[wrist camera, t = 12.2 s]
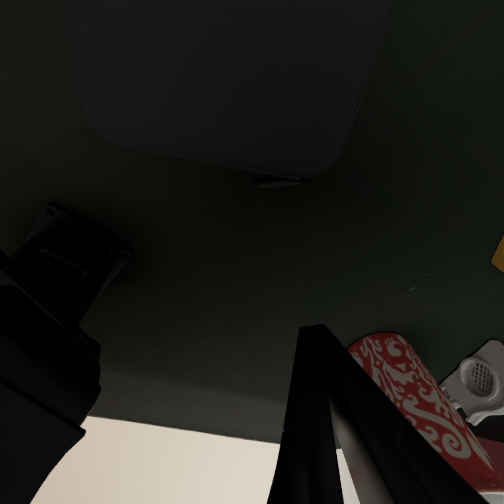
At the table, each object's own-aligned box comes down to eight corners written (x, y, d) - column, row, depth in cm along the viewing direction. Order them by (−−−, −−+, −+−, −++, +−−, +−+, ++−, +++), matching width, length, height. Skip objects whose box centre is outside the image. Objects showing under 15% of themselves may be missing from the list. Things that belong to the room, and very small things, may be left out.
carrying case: (98, 150, 17) (318, 189, 19) (73, 165, 14) (330, 208, 16) (63, -118, 11) (391, -17, 13) (10, -174, 8) (428, -38, 10)
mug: (372, 315, 27) (464, 489, 16) (434, 338, 29) (550, 501, 18) (304, 378, 33) (336, 533, 22) (360, 392, 36) (414, 537, 25)
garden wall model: (438, 392, 37) (469, 442, 32) (427, 391, 36) (456, 441, 31) (501, 338, 30) (552, 390, 25) (488, 336, 30) (537, 389, 25)
